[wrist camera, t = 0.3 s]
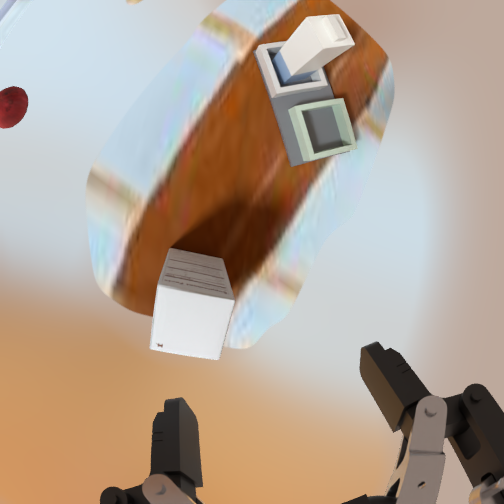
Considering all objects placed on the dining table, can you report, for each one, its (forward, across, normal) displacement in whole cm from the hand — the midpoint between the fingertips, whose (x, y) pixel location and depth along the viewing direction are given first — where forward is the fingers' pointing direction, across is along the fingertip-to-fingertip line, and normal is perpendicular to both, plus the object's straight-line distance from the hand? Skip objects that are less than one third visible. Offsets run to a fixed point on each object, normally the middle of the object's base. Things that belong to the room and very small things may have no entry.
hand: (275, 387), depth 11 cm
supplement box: (+26, +7, +7) cm, 28 cm away
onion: (+28, +25, -24) cm, 45 cm away
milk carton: (+29, -12, -17) cm, 35 cm away
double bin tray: (+29, -13, -12) cm, 34 cm away
